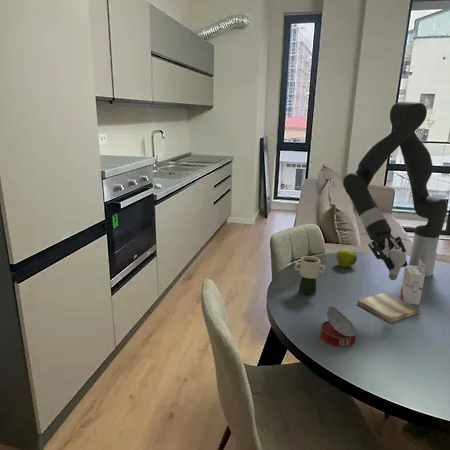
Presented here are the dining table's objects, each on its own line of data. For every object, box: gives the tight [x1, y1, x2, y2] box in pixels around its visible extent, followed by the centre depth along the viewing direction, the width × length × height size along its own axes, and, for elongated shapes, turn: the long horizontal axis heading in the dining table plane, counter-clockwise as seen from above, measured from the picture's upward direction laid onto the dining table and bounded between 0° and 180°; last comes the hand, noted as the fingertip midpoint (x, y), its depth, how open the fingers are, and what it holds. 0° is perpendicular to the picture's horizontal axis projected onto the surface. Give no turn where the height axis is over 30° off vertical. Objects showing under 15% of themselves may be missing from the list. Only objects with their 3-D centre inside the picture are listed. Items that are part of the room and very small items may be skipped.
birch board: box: [357, 292, 420, 323], centre depth 131 cm, size 14×14×2 cm
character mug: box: [294, 255, 326, 295], centre depth 140 cm, size 11×7×13 cm, turn 76°
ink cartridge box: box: [400, 259, 426, 306], centre depth 137 cm, size 9×5×15 cm, turn 168°
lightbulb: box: [388, 248, 407, 281], centre depth 127 cm, size 6×6×11 cm
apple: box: [334, 248, 357, 268], centre depth 166 cm, size 8×9×8 cm
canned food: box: [320, 306, 357, 348], centre depth 112 cm, size 11×10×10 cm
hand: (398, 267), depth 125 cm, fingers closed on lightbulb, 5 cm apart
